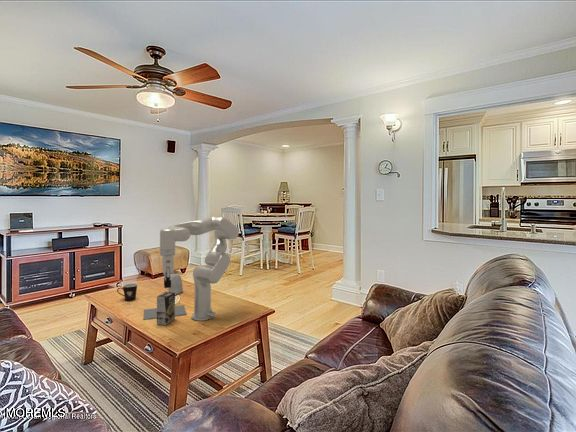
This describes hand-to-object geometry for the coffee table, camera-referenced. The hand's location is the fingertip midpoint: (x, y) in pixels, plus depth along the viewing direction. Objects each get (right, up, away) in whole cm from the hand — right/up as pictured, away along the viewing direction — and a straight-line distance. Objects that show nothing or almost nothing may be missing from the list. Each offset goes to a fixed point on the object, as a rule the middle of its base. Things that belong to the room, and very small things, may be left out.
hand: (167, 286), depth 164 cm
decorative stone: (-19, -20, +64) cm, 70 cm away
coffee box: (-7, -24, +16) cm, 30 cm away
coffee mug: (-46, -20, +49) cm, 70 cm away
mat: (-13, -23, +29) cm, 39 cm away
